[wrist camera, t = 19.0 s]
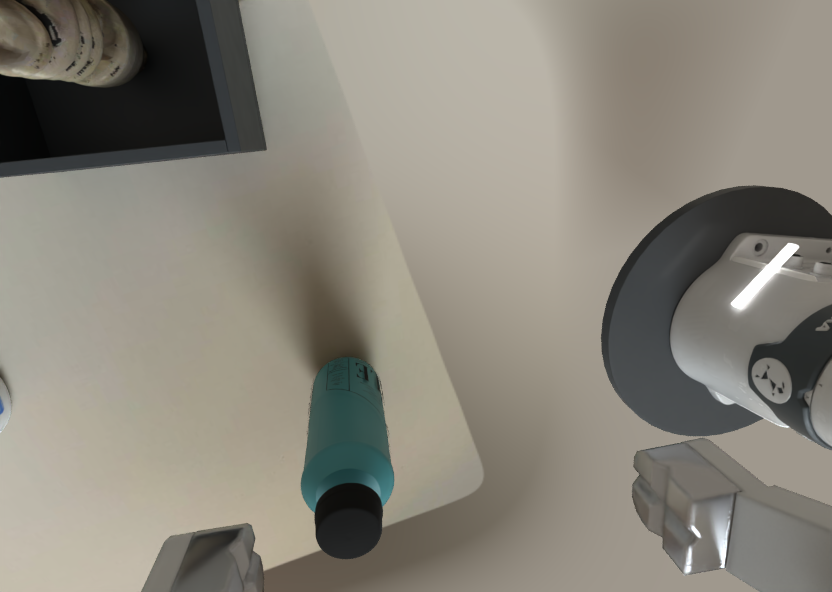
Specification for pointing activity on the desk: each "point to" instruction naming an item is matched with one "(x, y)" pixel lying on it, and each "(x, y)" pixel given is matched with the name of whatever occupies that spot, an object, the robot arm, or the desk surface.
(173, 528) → the desk surface
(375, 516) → the beverage bottle
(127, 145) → the bin
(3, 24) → the light bulb
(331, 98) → the desk surface
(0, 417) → the supplement tub
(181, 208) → the desk surface
